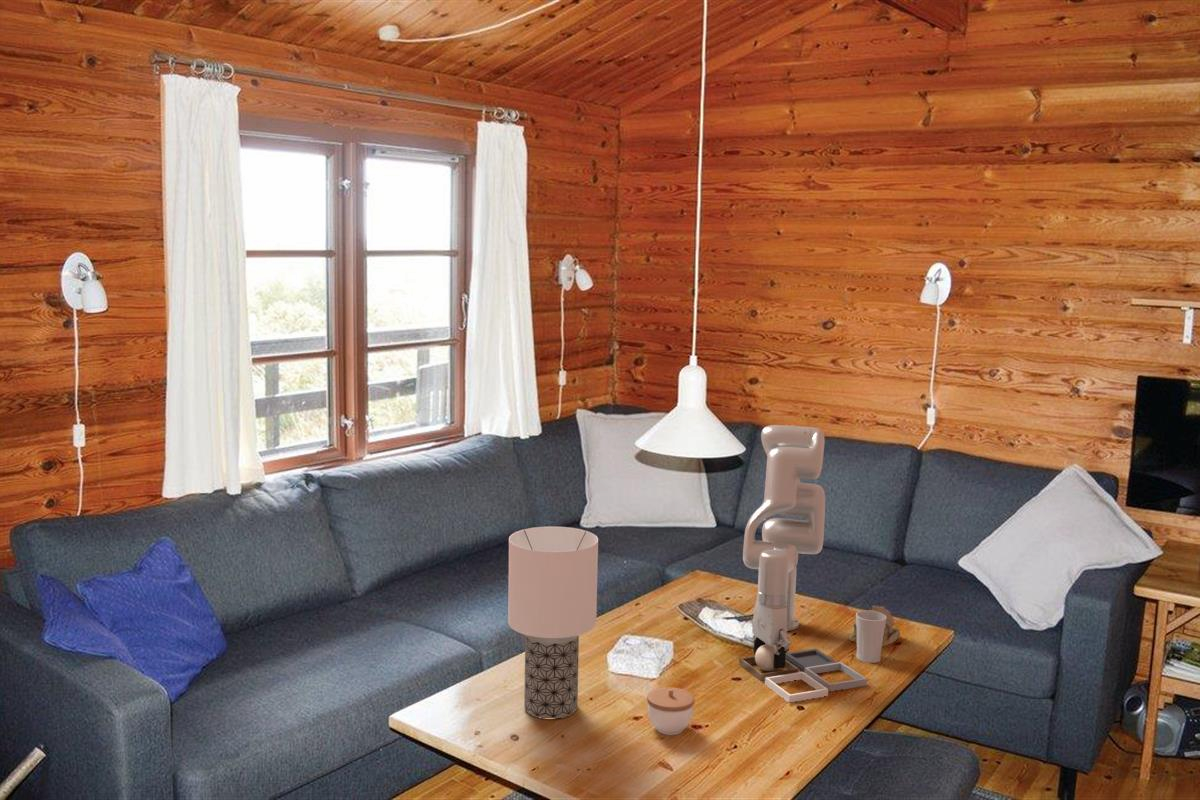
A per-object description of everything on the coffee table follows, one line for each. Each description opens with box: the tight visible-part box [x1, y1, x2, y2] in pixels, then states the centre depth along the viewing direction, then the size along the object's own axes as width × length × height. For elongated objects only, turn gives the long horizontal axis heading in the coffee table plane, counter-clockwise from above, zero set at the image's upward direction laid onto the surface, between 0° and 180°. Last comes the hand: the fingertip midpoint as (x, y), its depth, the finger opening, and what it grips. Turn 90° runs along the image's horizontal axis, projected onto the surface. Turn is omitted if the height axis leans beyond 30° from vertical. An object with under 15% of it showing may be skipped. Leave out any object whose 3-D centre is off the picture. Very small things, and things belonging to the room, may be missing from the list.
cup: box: [855, 609, 886, 664], centre depth 280 cm, size 8×8×12 cm
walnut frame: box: [738, 655, 800, 682], centre depth 272 cm, size 11×11×2 cm
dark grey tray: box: [785, 648, 839, 672], centre depth 277 cm, size 10×10×2 cm
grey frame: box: [804, 661, 868, 692], centre depth 267 cm, size 11×11×2 cm
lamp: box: [507, 526, 599, 719], centre depth 244 cm, size 21×21×42 cm
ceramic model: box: [848, 604, 901, 647], centre depth 295 cm, size 14×11×10 cm
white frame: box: [764, 671, 829, 704], centre depth 260 cm, size 11×11×2 cm
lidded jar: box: [646, 686, 695, 736], centre depth 237 cm, size 11×11×9 cm
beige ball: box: [754, 644, 777, 672], centre depth 271 cm, size 7×7×7 cm
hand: (769, 660), depth 271 cm, fingers open, 9 cm apart
